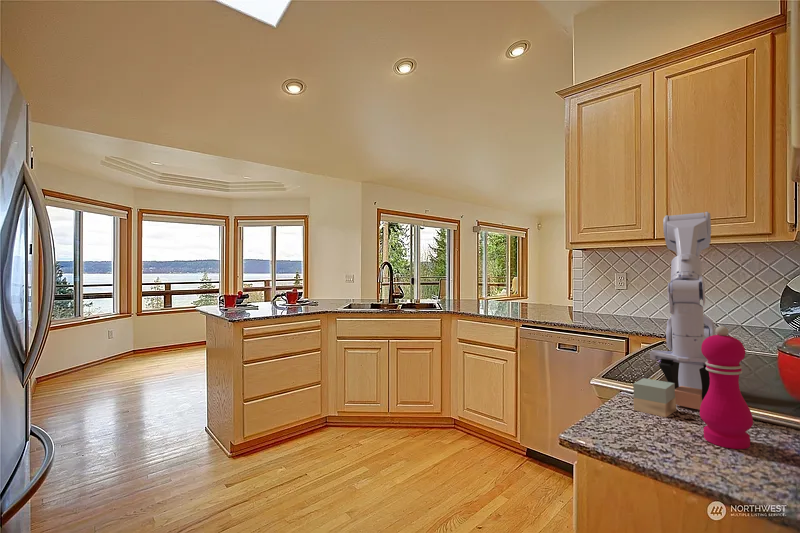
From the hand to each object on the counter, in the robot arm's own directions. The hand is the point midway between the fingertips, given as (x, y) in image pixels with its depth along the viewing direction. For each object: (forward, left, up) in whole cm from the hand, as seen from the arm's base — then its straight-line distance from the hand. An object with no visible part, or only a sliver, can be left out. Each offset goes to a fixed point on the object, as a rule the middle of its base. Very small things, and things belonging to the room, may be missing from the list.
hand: (690, 397), depth 87 cm
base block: (+8, -4, -2) cm, 9 cm away
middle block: (+8, -4, +1) cm, 9 cm away
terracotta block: (0, 0, -2) cm, 2 cm away
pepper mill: (+16, +10, -2) cm, 19 cm away
